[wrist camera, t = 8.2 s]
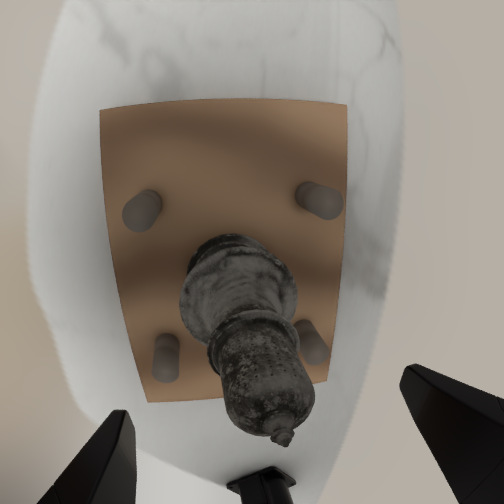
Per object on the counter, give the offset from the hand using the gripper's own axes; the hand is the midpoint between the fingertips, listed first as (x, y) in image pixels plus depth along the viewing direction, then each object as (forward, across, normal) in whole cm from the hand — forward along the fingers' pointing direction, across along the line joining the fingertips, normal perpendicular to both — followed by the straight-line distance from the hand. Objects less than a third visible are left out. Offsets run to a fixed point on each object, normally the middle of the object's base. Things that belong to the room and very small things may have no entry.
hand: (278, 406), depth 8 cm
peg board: (+12, 0, 0) cm, 12 cm away
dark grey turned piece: (+11, 0, 0) cm, 11 cm away
